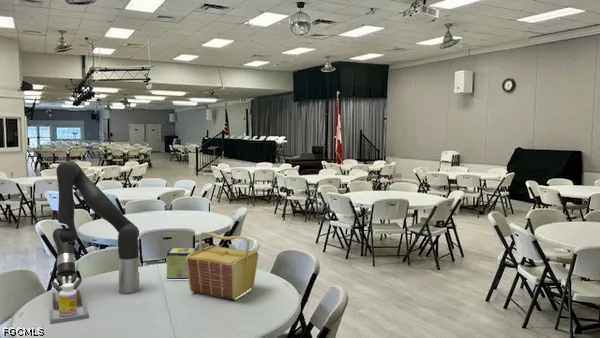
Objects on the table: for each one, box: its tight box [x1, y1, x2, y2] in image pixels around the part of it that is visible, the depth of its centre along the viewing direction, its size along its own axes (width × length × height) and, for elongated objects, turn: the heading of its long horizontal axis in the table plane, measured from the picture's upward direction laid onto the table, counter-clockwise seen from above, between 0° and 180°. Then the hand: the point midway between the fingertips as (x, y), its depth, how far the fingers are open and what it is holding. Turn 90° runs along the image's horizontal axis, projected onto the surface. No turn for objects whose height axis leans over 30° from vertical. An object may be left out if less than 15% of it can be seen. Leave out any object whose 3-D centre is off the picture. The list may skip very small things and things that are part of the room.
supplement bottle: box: [58, 283, 77, 317], centre depth 200 cm, size 7×7×13 cm
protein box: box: [166, 247, 198, 280], centre depth 254 cm, size 10×16×16 cm
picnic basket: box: [186, 231, 259, 300], centre depth 233 cm, size 29×26×30 cm
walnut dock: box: [52, 289, 83, 311], centre depth 212 cm, size 11×13×4 cm
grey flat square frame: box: [49, 304, 90, 325], centre depth 198 cm, size 14×13×2 cm
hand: (67, 299), depth 203 cm, fingers closed
